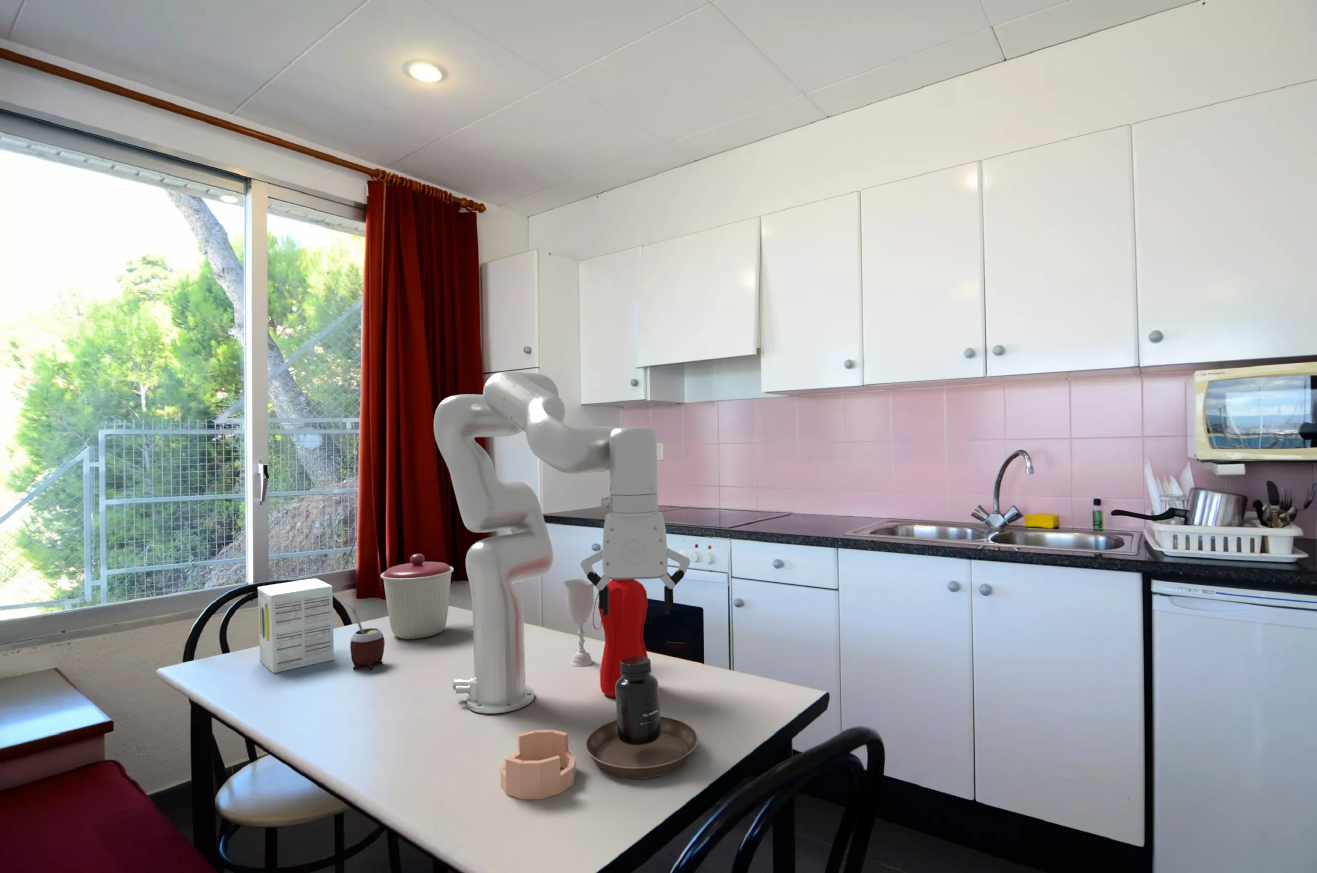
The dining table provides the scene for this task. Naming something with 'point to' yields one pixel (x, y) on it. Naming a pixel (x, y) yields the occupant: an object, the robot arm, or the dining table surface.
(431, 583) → the canister
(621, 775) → the plant saucer
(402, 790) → the dining table surface
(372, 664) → the mate gourd
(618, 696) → the supplement bottle
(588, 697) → the dining table surface
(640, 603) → the water bottle
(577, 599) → the chalice
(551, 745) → the holder cup
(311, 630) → the supplement box
